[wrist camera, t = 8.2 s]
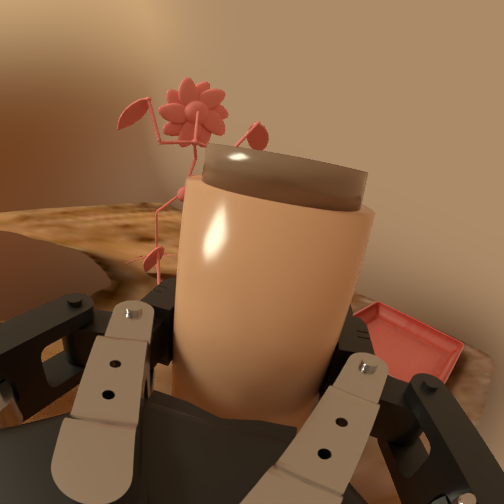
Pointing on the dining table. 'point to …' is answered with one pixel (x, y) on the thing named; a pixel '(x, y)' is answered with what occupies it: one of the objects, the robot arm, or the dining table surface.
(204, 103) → the figurine
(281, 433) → the robot arm
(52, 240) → the dining table surface
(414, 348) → the plant saucer
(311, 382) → the jar
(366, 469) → the dining table surface
